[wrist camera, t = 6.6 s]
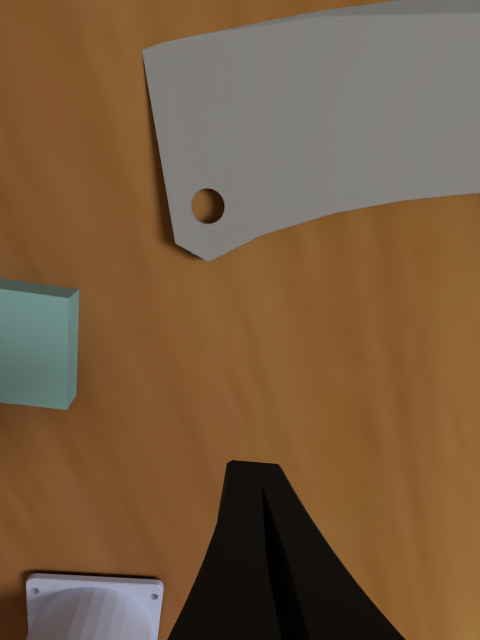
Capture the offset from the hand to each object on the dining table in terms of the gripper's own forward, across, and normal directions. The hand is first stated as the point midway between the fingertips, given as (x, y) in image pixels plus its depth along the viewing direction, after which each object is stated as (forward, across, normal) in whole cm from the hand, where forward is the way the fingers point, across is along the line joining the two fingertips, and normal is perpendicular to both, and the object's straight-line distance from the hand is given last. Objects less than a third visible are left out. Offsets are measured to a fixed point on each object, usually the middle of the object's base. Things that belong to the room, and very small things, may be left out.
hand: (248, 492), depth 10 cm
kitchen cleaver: (+10, -7, -11) cm, 17 cm away
